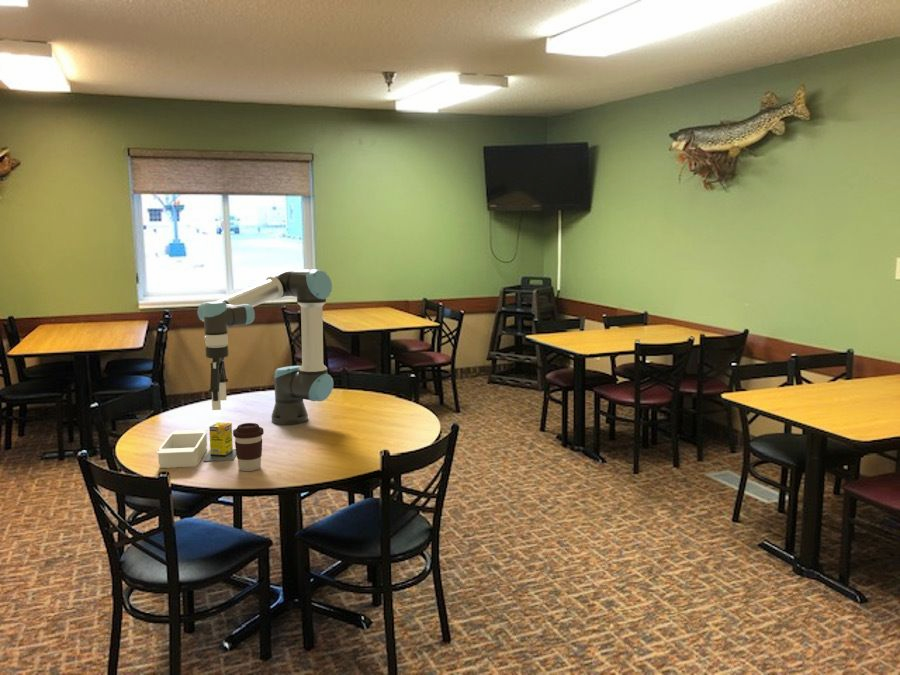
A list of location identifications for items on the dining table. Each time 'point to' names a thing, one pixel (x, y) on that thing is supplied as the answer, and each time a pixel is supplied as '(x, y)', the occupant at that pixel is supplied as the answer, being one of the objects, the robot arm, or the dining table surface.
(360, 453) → the dining table surface
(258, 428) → the coffee cup
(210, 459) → the mat
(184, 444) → the carton
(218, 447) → the supplement box
